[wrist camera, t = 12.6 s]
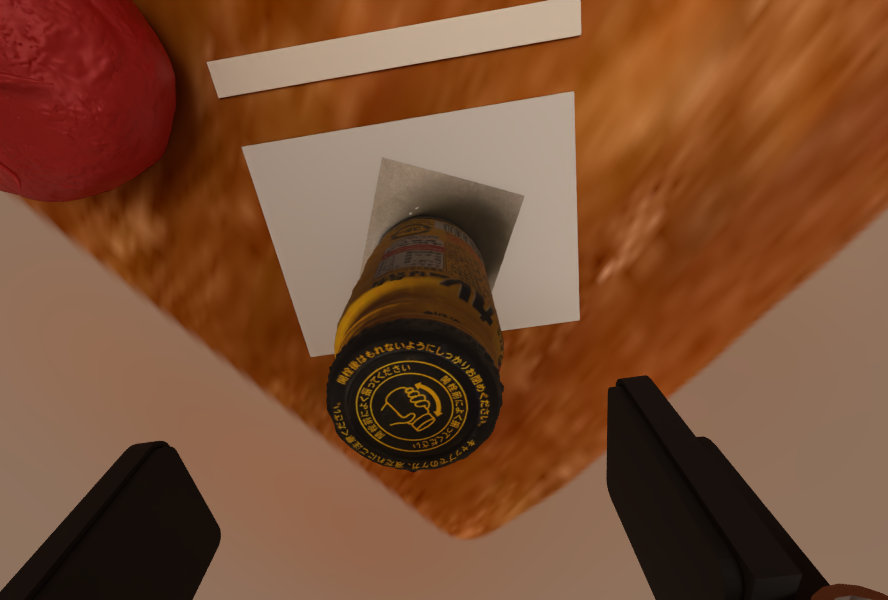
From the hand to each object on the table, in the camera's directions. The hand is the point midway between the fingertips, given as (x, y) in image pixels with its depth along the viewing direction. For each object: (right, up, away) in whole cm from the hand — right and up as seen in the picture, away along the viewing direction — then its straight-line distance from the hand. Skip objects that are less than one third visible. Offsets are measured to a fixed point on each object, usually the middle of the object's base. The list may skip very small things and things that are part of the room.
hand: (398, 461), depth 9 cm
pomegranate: (-15, +14, +11) cm, 23 cm away
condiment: (0, +6, +14) cm, 15 cm away
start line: (-1, +15, +10) cm, 18 cm away
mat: (0, +7, +14) cm, 15 cm away
